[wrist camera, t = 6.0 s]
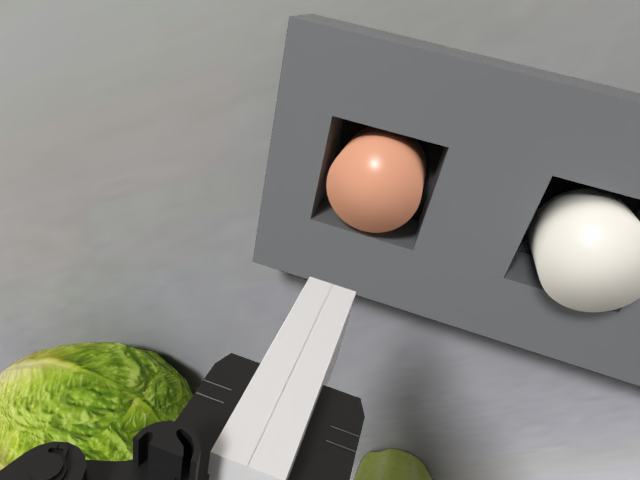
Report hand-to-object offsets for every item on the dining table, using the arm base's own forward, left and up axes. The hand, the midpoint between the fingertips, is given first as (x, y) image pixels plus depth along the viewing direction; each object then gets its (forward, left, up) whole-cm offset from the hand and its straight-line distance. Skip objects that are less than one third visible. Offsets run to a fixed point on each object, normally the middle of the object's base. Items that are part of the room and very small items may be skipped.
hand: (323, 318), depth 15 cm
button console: (-11, 0, -16) cm, 19 cm away
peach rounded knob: (0, 0, -15) cm, 15 cm away
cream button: (-11, 0, -13) cm, 17 cm away
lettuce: (+19, +27, -16) cm, 37 cm away
